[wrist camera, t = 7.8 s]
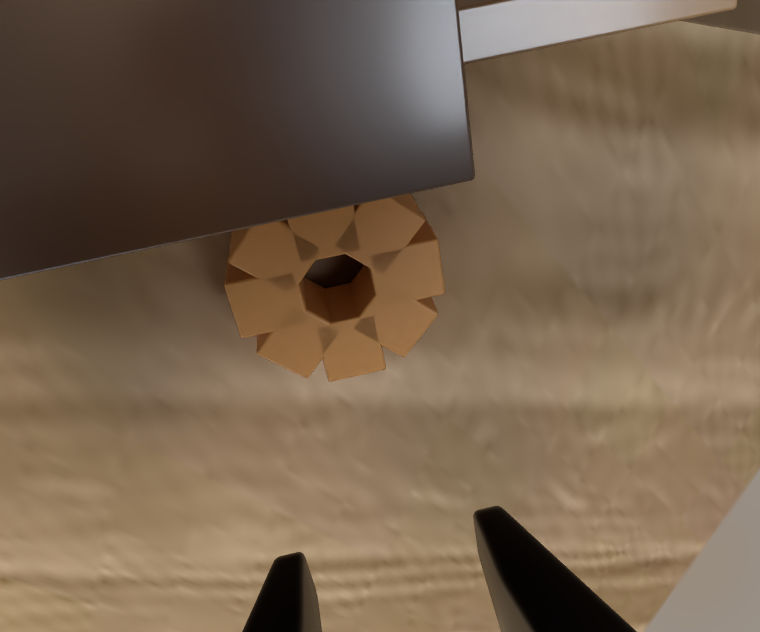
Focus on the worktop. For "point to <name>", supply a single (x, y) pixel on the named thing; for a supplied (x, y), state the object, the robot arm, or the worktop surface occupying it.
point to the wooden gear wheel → (339, 303)
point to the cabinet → (216, 117)
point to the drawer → (584, 21)
